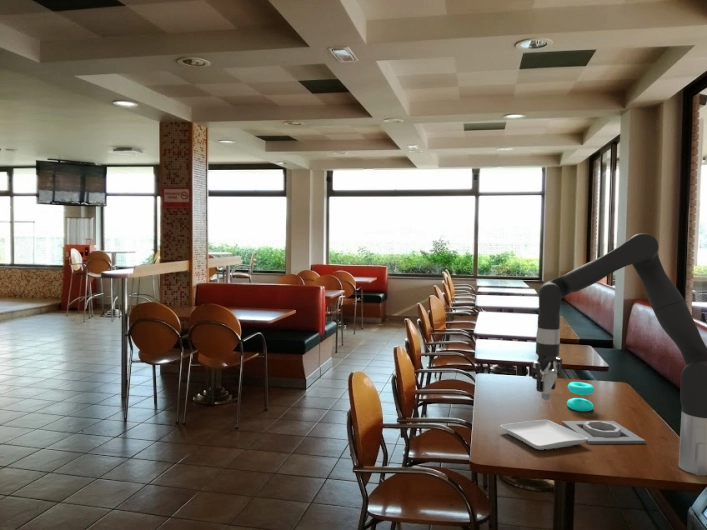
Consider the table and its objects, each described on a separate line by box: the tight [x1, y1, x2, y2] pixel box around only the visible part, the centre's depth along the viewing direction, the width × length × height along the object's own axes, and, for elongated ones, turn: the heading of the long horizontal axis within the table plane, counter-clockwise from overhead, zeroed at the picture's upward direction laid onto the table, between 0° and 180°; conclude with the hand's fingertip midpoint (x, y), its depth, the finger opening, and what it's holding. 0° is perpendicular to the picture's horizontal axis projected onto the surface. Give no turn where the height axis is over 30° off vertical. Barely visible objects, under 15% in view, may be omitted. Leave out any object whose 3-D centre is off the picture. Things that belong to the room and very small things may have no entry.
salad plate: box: [499, 419, 588, 451], centre depth 192 cm, size 21×21×3 cm
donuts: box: [566, 381, 595, 412], centre depth 227 cm, size 10×10×10 cm
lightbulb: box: [540, 370, 557, 401], centre depth 190 cm, size 6×6×11 cm
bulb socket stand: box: [561, 420, 646, 445], centre depth 199 cm, size 20×20×2 cm
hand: (545, 389), depth 190 cm, fingers closed on lightbulb, 5 cm apart
